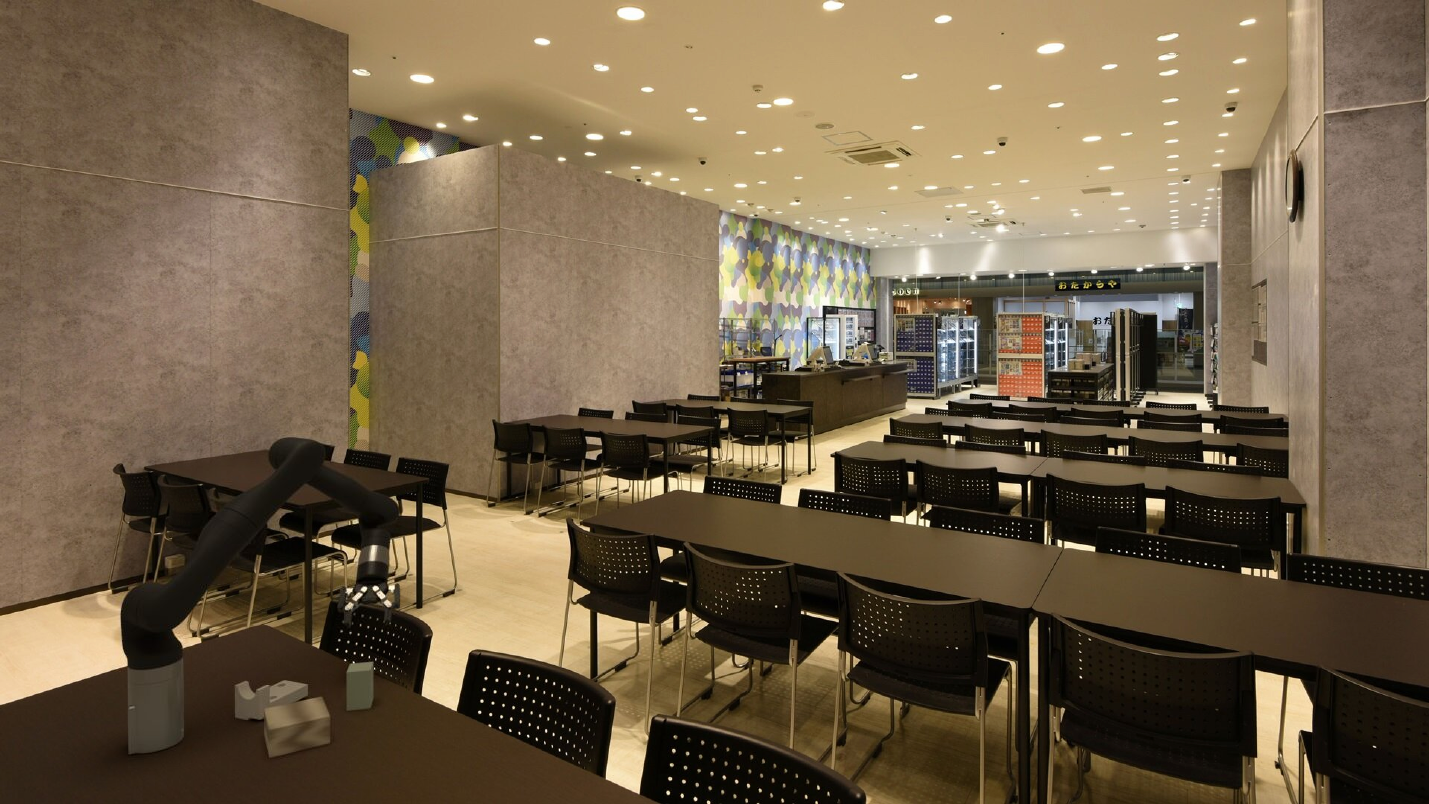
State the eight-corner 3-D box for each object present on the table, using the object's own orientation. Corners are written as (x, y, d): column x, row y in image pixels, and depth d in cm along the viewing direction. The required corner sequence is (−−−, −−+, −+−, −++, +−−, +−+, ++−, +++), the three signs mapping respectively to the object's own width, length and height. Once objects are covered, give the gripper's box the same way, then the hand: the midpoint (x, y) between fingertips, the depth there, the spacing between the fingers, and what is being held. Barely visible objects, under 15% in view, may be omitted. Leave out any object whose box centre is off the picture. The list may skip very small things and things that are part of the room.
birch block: (269, 759, 151) (269, 730, 151) (264, 736, 160) (264, 708, 159) (330, 744, 157) (330, 716, 157) (321, 723, 166) (321, 696, 166)
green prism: (346, 710, 172) (346, 672, 171) (350, 701, 176) (350, 663, 176) (370, 708, 173) (370, 670, 173) (373, 698, 178) (373, 661, 177)
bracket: (259, 723, 165) (259, 690, 165) (235, 718, 167) (234, 685, 167) (307, 699, 177) (307, 667, 177) (284, 694, 180) (284, 663, 179)
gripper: (341, 561, 191) (333, 620, 180) (401, 558, 195) (397, 615, 185) (345, 575, 196) (337, 634, 186) (403, 572, 200) (399, 629, 190)
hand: (367, 625), depth 185 cm, fingers open, 8 cm apart
